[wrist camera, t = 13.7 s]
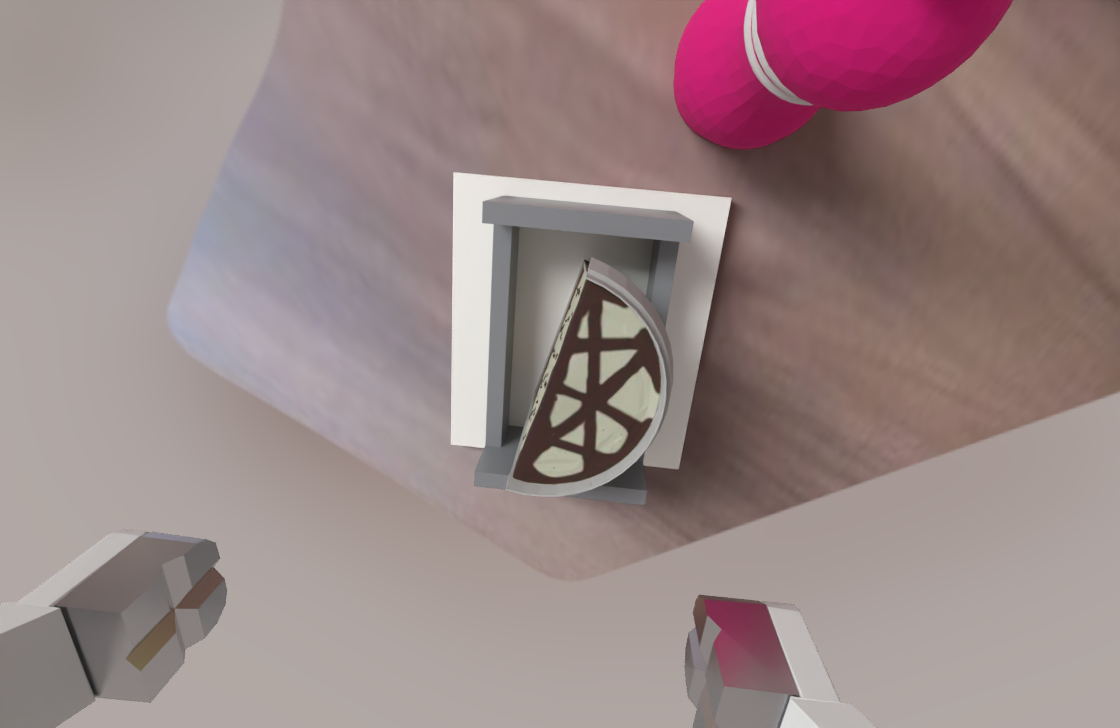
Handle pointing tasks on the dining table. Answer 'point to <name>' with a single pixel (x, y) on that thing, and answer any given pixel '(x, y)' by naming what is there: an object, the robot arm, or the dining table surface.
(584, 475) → the food container
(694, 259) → the slot stand
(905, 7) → the pepper mill
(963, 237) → the dining table surface
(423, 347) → the dining table surface
